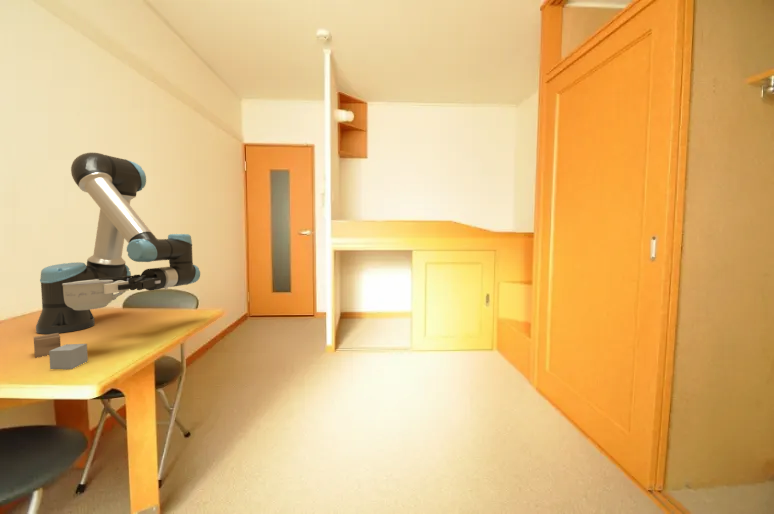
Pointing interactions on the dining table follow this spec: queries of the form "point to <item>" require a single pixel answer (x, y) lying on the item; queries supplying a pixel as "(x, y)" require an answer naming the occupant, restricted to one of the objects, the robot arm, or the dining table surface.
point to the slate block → (68, 356)
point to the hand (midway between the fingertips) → (88, 288)
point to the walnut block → (46, 344)
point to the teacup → (88, 294)
